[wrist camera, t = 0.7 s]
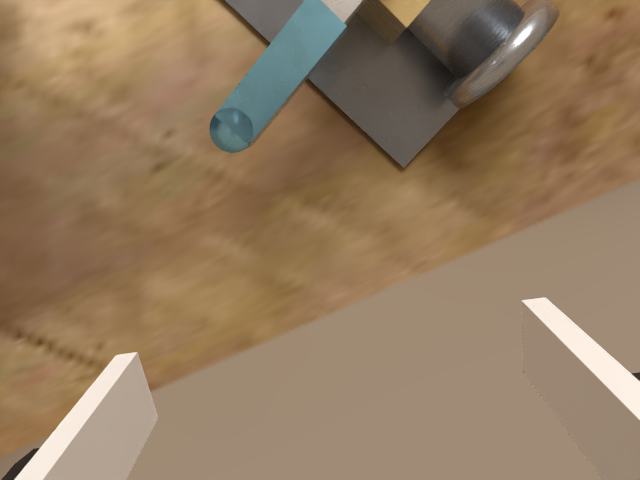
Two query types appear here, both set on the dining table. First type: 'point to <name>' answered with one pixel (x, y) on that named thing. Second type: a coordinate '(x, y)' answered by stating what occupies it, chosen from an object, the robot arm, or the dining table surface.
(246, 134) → the lever
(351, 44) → the valve body
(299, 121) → the dining table surface
